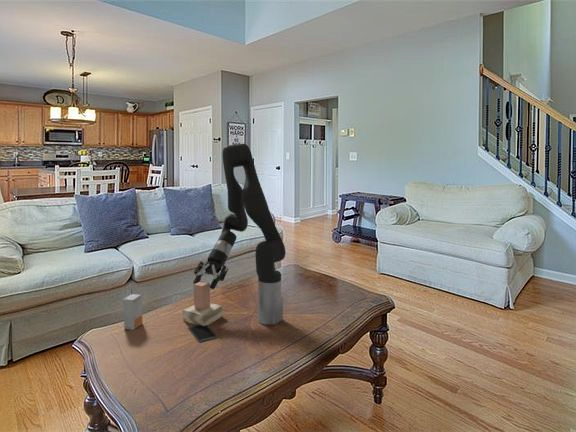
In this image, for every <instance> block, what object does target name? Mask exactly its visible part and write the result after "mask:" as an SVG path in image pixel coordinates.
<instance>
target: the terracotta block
mask: <svg viewBox="0 0 576 432" xmlns="http://www.w3.org/2000/svg"><path fill="white" fill-rule="evenodd" d="M210 285H211V283H210V282H206V281H201V280H200V282H198V283H196V284H193V303H194V304H193V305H194V308H196V309H200V310H204V309H206V308H208V307H210V303H211V288H210Z"/></svg>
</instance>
